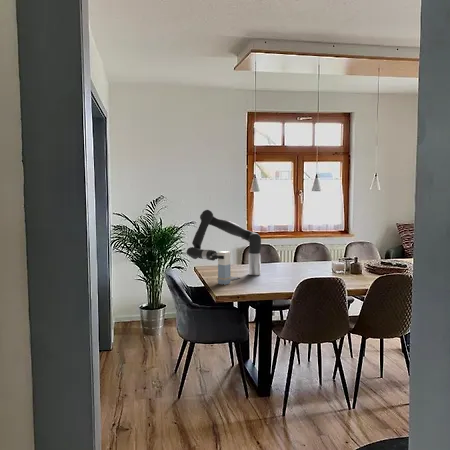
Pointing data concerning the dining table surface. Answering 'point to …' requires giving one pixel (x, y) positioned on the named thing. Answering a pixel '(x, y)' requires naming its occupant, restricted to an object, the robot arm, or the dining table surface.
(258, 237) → the robot arm
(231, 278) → the mat
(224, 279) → the grey piece
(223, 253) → the lid
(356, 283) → the dining table surface
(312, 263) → the dining table surface
